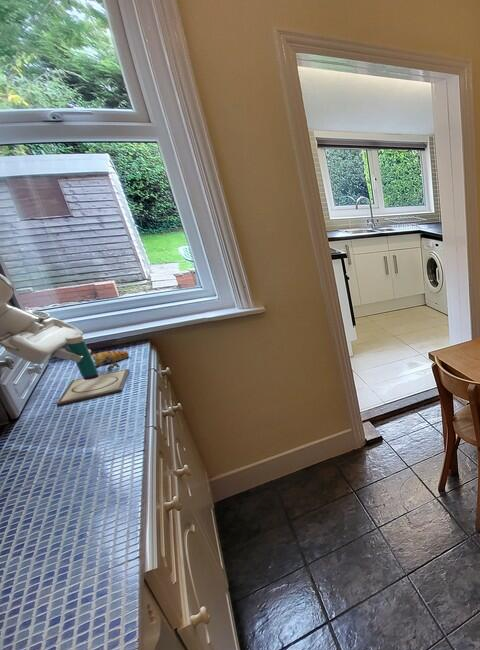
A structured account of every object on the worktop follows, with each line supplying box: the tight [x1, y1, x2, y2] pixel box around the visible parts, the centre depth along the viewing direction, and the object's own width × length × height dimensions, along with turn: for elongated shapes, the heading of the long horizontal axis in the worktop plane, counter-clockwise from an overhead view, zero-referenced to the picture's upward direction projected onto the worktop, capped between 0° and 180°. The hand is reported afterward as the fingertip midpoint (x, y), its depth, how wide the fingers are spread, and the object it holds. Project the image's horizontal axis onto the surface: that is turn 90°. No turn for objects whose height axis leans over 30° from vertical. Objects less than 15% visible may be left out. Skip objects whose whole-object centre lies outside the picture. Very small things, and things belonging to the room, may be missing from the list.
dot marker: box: [65, 335, 100, 380], centre depth 111 cm, size 3×3×12 cm
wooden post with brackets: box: [95, 356, 120, 371], centre depth 140 cm, size 2×8×4 cm, turn 107°
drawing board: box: [56, 368, 130, 407], centre depth 128 cm, size 14×20×1 cm
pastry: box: [91, 350, 130, 366], centre depth 147 cm, size 9×7×4 cm
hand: (85, 356), depth 111 cm, fingers closed on dot marker, 3 cm apart
